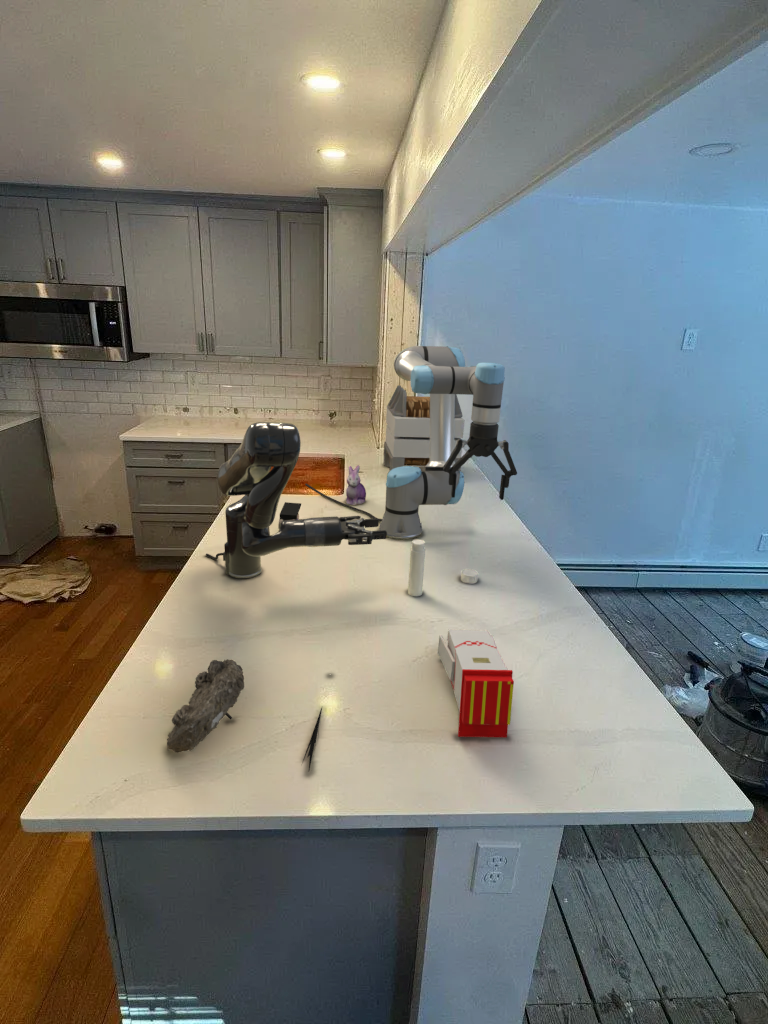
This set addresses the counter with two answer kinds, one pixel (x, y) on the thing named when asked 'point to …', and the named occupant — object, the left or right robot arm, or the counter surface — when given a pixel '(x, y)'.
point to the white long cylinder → (416, 568)
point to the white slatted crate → (412, 430)
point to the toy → (478, 682)
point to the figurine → (355, 488)
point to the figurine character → (289, 512)
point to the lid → (469, 576)
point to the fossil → (206, 705)
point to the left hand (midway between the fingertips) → (382, 528)
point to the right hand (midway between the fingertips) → (477, 497)
